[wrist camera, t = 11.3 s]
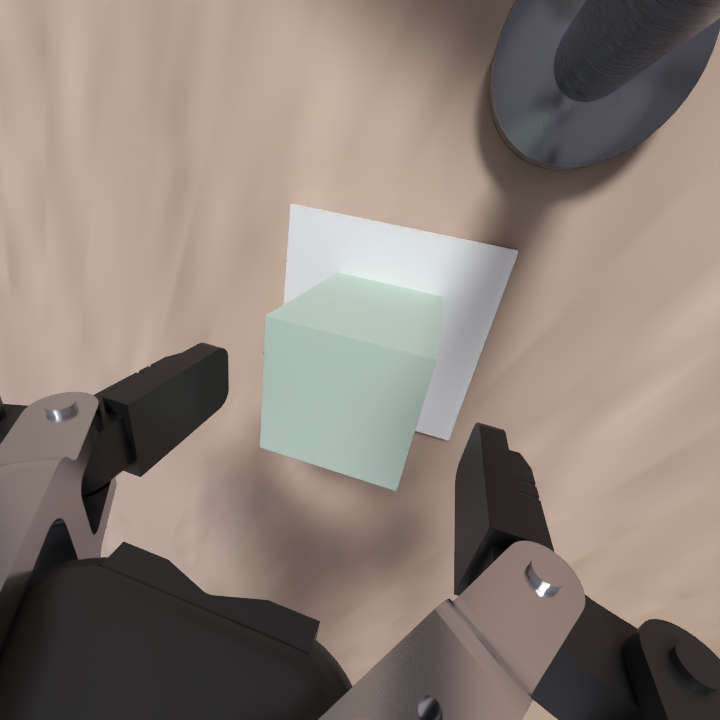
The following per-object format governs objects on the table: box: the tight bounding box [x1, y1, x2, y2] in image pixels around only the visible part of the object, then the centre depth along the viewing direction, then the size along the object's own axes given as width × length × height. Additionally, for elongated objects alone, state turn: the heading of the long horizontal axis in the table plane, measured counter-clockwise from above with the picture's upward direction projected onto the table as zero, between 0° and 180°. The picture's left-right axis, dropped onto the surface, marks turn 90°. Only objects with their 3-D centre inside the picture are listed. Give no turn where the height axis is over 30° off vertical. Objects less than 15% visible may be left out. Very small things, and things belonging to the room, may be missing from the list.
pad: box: [284, 204, 519, 441], centre depth 17 cm, size 10×10×1 cm
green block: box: [260, 272, 443, 491], centre depth 14 cm, size 5×5×7 cm
